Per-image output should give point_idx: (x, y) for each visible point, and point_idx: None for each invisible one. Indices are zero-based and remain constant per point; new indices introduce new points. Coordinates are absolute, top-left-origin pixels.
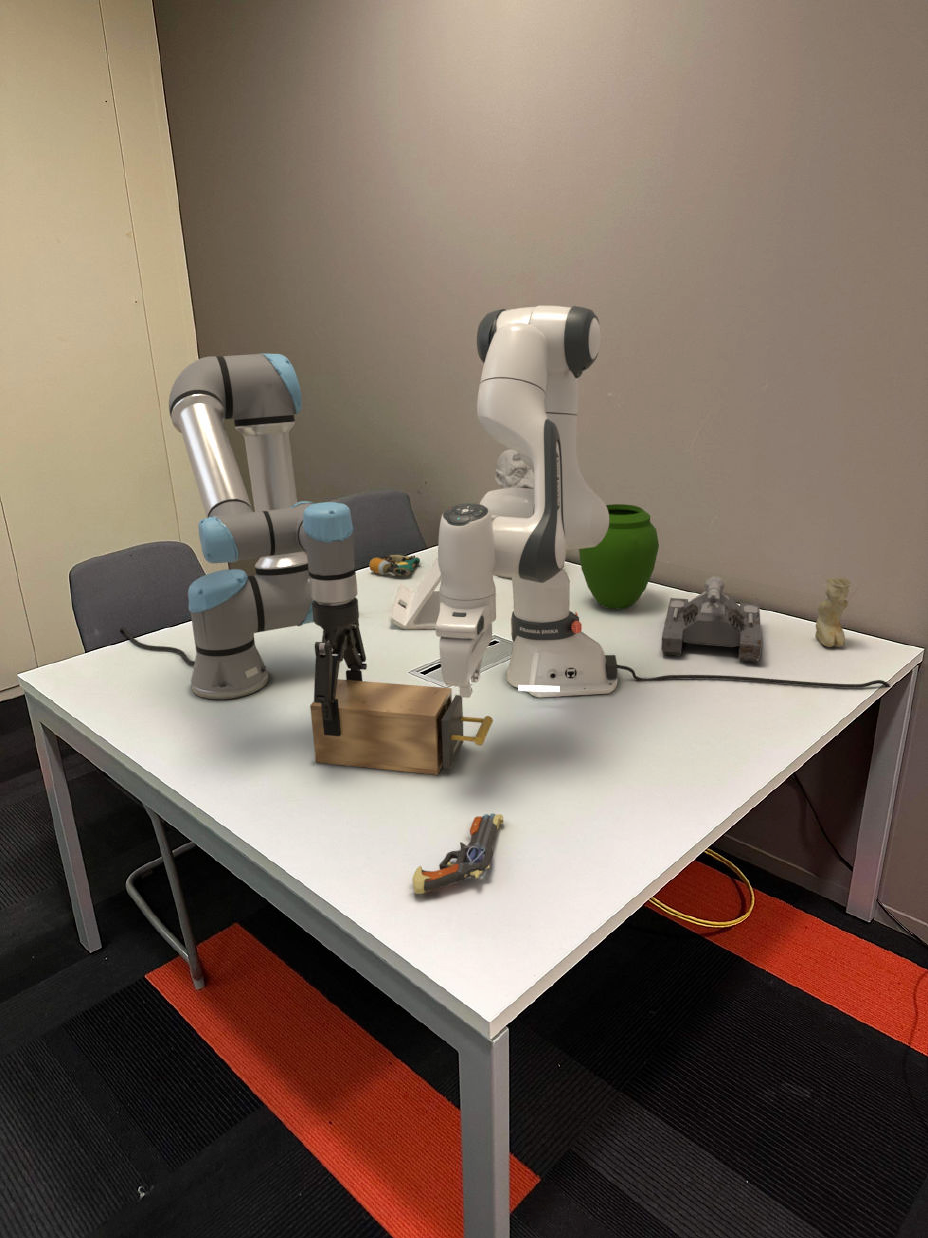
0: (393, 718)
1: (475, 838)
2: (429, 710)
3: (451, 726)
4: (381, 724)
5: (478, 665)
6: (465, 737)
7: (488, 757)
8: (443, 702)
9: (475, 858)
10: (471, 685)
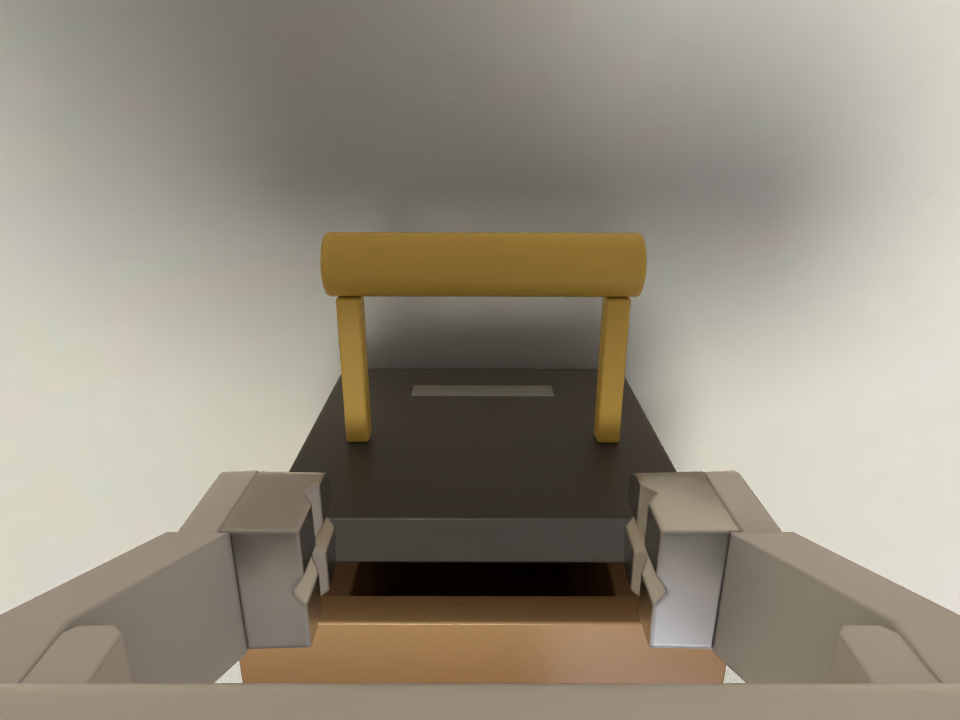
0: None
1: None
2: (646, 677)
3: (605, 472)
4: None
5: (167, 590)
6: (622, 357)
7: (423, 215)
8: (491, 620)
9: None
10: (703, 533)
